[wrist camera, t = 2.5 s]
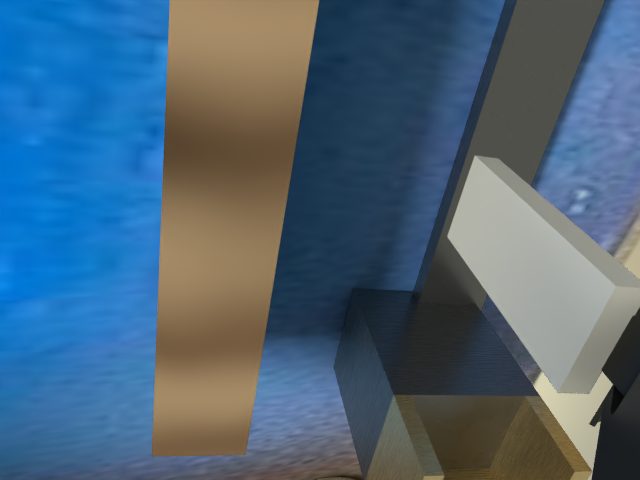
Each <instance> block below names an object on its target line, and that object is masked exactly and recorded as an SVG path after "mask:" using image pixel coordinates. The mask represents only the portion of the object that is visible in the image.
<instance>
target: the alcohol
mask: <svg viewBox="0 0 640 480" xmlns="http://www.w3.org/2000/svg"><path fill="white" fill-rule="evenodd" d="M317 480H355V479H351V478H346V477H328V478H321V479H317Z"/></svg>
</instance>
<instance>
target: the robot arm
mask: <svg viewBox="0 0 640 480" xmlns="http://www.w3.org/2000/svg"><path fill="white" fill-rule="evenodd" d="M447 237H448V238H449V240H450V241H451V243H452V244H453V246H454V247H455V248H456V250H457V251H458V253H459V254H460V255H461V257H462V258H463V260H464V261H465V263H466V264H467V265H468V267H469V268H470V270H471V271H472V272H473V274H474V275H475V277H476V278H477V279H478V281H479V282H480V284H481V285H482V287H483V288H484V289H485V291H486V292H487V294H488V295H489V296H490V298H491V299H492V301H493V302H494V303H495V305H496V306H497V308H498V309H499V311H500V312H501V313H502V315H503V316H504V318H505V319H506V320H507V322H508V323H509V325H510V326H511V327H512V329H513V330H514V332H515V333H516V335H517V336H518V337H519V339H520V340H521V342H522V343H523V344H524V346H525V347H526V349H527V350H528V351H529V353H530V354H531V356H532V357H533V359H534V360H535V361H536V363H537V364H538V366H539V367H540V368H541V370H542V371H543V373H544V374H545V375H546V377H547V378H548V380H549V381H550V383H551V384H552V385H553V387H554V388H555V389H556V391H557V392H558V393H584V394H586V393H587V394H589V393H590V391H591V389H592V388H593V386H594V384H595V383H596V381H597V379H598V377H599V376H600V374H601V372H602V371H603V373H604V374H605V375H606V376H607V377H608V379H609V380H610V381H611V382H612V383H613V386H612V387H611V389H610V391H609V392H608V394H607V396H606V397H605V399H604V400H603V402H602V404H601V405H600V407H599V409H598V410H597V412H596V414H595V415H594V417H593V419H592V420H591V422H590V425H592V426H596V424H597V423H598V422H600V421H601V424H600V430H599V437H598V444H597V449H596V455H595V462H594V468H593V474H592V480H640V279H638V278H637V277H636V276H635V275H634V274H633V273H631V272H630V271H629V270H628V269H627V268H626V267H624V266H623V265H622V264H621V263H620V262H619V261H617V260H616V259H615V258H614V257H613V256H612V255H610V254H609V253H608V252H607V251H606V250H605V249H603V248H602V247H601V246H600V245H599V244H598V243H596V242H595V241H594V240H593V239H592V238H591V237H589V236H588V235H587V234H586V233H585V232H584V231H582V230H581V229H580V228H579V227H578V226H577V225H575V224H574V223H573V222H572V221H571V220H570V219H568V218H567V217H566V216H565V215H564V214H563V213H561V212H560V211H559V210H558V209H557V208H556V207H554V206H553V205H552V204H551V203H550V202H549V201H547V200H546V199H545V198H544V197H543V196H542V195H540V194H539V193H538V192H537V191H536V190H535V189H533V188H532V187H531V186H530V185H529V184H528V183H526V182H525V181H524V180H523V179H522V178H521V177H519V176H518V175H517V174H516V173H515V172H514V171H512V170H511V169H510V168H509V167H508V166H507V165H505V164H504V163H503V162H502V161H501V160H499V159H498V158H491V157H483V156H474V159H473V162H472V165H471V168H470V171H469V174H468V177H467V180H466V183H465V186H464V189H463V192H462V195H461V197H460V200H459V203H458V206H457V209H456V212H455V215H454V218H453V221H452V224H451V227H450V230H449V233H448V236H447Z"/></svg>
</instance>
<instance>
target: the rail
mask: <svg viewBox="0 0 640 480" xmlns="http://www.w3.org/2000/svg"><path fill="white" fill-rule="evenodd" d="M318 5H319V0H170V11H169V36H168V62H167V87H166V112H165V137H164V162H163V187H162V212H161V237H160V262H159V287H158V312H157V337H156V362H155V387H154V412H153V437H152V456H205V455H246V450H247V443H248V437H249V431H250V425H251V419H252V413H253V406H254V400H255V394H256V388H257V382H258V376H259V369H260V363H261V357H262V351H263V345H264V339H265V332H266V326H267V320H268V314H269V308H270V302H271V295H272V289H273V283H274V277H275V271H276V265H277V258H278V252H279V246H280V240H281V234H282V228H283V221H284V215H285V209H286V203H287V197H288V191H289V184H290V178H291V172H292V166H293V160H294V153H295V147H296V141H297V135H298V129H299V123H300V116H301V110H302V104H303V98H304V92H305V86H306V79H307V73H308V67H309V61H310V55H311V49H312V42H313V36H314V30H315V24H316V18H317V12H318Z"/></svg>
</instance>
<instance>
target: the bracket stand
mask: <svg viewBox="0 0 640 480" xmlns="http://www.w3.org/2000/svg"><path fill="white" fill-rule="evenodd" d="M604 1H605V0H505V4H504V7H503V10H502V13H501V16H500V19H499V22H498V26H497V29H496V32H495V35H494V38H493V41H492V45H491V48H490V51H489V54H488V57H487V60H486V63H485V67H484V70H483V73H482V76H481V79H480V82H479V86H478V89H477V92H476V95H475V98H474V101H473V105H472V108H471V111H470V114H469V117H468V120H467V123H466V127H465V130H464V133H463V136H462V139H461V142H460V146H459V149H458V152H457V155H456V158H455V161H454V165H453V168H452V171H451V174H450V177H449V180H448V183H447V187H446V190H445V193H444V196H443V199H442V202H441V206H440V209H439V212H438V215H437V218H436V221H435V225H434V228H433V231H432V234H431V237H430V240H429V243H428V247H427V250H426V253H425V256H424V259H423V262H422V266H421V269H420V272H419V275H418V278H417V281H416V285H415V288H414V291H413V292H406V291H388V290H371V289H354V288H353V292H352V296H351V300H350V304H349V308H348V312H347V316H346V320H345V323H344V327H343V331H342V335H341V339H340V343H339V347H338V351H337V355H336V359H335V363H334V370H335V374H336V378H337V381H338V385H339V389H340V393H341V396H342V400H343V404H344V408H345V412H346V415H347V419H348V423H349V427H350V430H351V434H352V438H353V442H354V445H355V449H356V453H357V457H358V461H359V464H360V468H361V472H362V476H363V479H364V480H587V479H588V477H589V476H590V474H591V472H592V470H591V469H590V467H589V466H588V465H587V463H586V462H585V460H584V459H583V457H582V456H581V454H580V453H579V451H578V450H577V449H576V447H575V446H574V444H573V443H572V441H571V440H570V439H569V437H568V436H567V434H566V433H565V431H564V430H563V429H562V427H561V426H560V424H559V423H558V421H557V420H556V418H555V417H554V415H553V414H552V413H551V411H550V410H549V408H548V407H547V405H546V404H545V403H544V401H543V400H542V398H541V397H540V395H539V394H538V392H537V391H536V390H535V388H534V387H533V385H532V384H531V382H530V381H529V380H528V378H527V377H526V375H525V374H524V372H523V371H522V369H521V368H520V367H519V365H518V364H517V362H516V361H515V359H514V358H513V356H512V355H511V354H510V352H509V351H508V349H507V348H506V346H505V345H504V344H503V342H502V341H501V339H500V338H499V336H498V335H497V333H496V332H495V331H494V329H493V328H492V326H491V325H490V323H489V322H488V321H487V319H486V318H485V316H484V315H483V313H482V312H481V310H482V307H483V305H484V302H485V300H486V297H487V295H488V294H487V292H486V291H485V289H484V288H483V287H482V285H481V284H480V282H479V281H478V279H477V278H476V277H475V275H474V274H473V272H472V271H471V270H470V268H469V267H468V265H467V264H466V263H465V261H464V260H463V258H462V257H461V255H460V254H459V253H458V251H457V250H456V248H455V247H454V246H453V244H452V243H451V241H450V240H449V238H448V237H447V236H448V233H449V230H450V227H451V224H452V221H453V218H454V215H455V212H456V209H457V206H458V203H459V200H460V197H461V195H462V192H463V189H464V186H465V183H466V180H467V177H468V174H469V171H470V168H471V165H472V162H473V159H474V156H483V157H491V158H498V159H499V160H501V161H502V162H503V163H504V164H505V165H507V166H508V167H509V168H510V169H511V170H512V171H514V172H515V173H516V174H517V175H518V176H519V177H521V178H522V179H523V180H524V181H525V182H526V183H528V184H529V185H530V186H531V184H532V182H533V179H534V177H535V174H536V172H537V169H538V167H539V164H540V162H541V159H542V157H543V154H544V151H545V149H546V146H547V144H548V141H549V139H550V136H551V134H552V131H553V129H554V126H555V124H556V121H557V119H558V116H559V114H560V111H561V109H562V106H563V104H564V101H565V99H566V96H567V94H568V91H569V89H570V86H571V84H572V81H573V79H574V76H575V74H576V71H577V69H578V66H579V64H580V61H581V58H582V56H583V53H584V51H585V48H586V46H587V43H588V41H589V38H590V36H591V33H592V31H593V28H594V26H595V23H596V21H597V18H598V16H599V13H600V11H601V8H602V6H603V3H604Z"/></svg>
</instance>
